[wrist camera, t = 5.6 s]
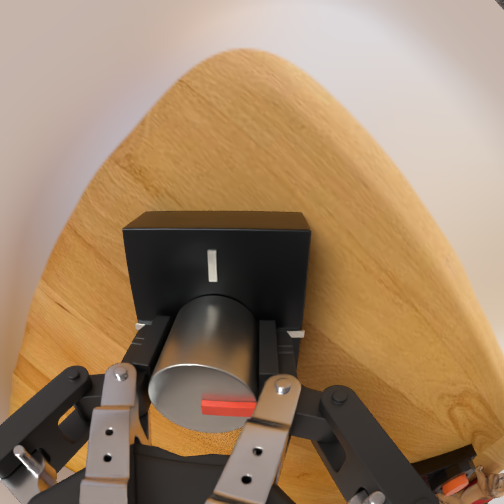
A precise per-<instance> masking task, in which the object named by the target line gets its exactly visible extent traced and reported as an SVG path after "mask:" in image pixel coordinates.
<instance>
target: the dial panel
mask: <svg viewBox="0 0 504 504" xmlns="http://www.w3.org/2000/svg"><path fill="white" fill-rule="evenodd" d="M122 231H123V239H124V246H125V253H126V260H127V266H128V272H129V278H130V283H131V289H132V294H133V299H134V304H135V309H136V314H137V319H138V322H136V323H135V327H136V330H139V329H141V328H142V327H143V326H145V325H146V324H147V325H151V324H152V322H153V320H154V318H155V316H156V315H162V316H172V318H173V322H174V321H175V319H176V317H177V314H178V312H179V311H180V309H181V308H182V307H183V306H184V305H185V304H187V303H188V302H190V301H191V300H193V299H196V298H199V297H202V296H222V297H227V298H230V299H233V300H235V301H237V302H239V303H240V304H242V305H243V306H245V307H246V308H247V309H248V310H249V311H250V312H251V313H252V314H253V316H254V317H255V319H256V321H257V323H258V327H259V323H260V320H275V323H276V331H287V332H288V334H289V335H290V336H291V337H292V342H293V349H294V357H295V364H296V371H297V364H298V356H299V349H300V341H301V337H304V333H305V331H304V330H302V324H303V316H304V307H305V297H306V288H307V277H308V267H309V255H310V243H311V230H310V228H309V226H308V224H307V222H306V220H305V218H304V216H303V214H302V213H301V212H263V211H151V212H145V213H143V214H142V215H141V216H139V217H138V218H136V219H135V220H134V221H132V222H131V223H129V224H128V225H127V226H125V227H124V228H123V230H122Z"/></svg>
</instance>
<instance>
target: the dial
mask: <svg viewBox="0 0 504 504" xmlns="http://www.w3.org/2000/svg"><path fill="white" fill-rule="evenodd" d="M258 380H259V327H258V323H257V321H256V319H255V317H254V316H253V314H252V313H251V312H250V311H249V310H248V309H247V308H246V307H245V306H243V305H242V304H240V303H239V302H237V301H235V300H233V299H230V298H227V297H222V296H202V297H199V298H196V299H193V300H191V301H190V302H188V303H187V304H185V305H184V306H183V307H182V308H181V309H180V311H179V312H178V314H177V317H176V319H175V321H174V324H173V326H172V328H171V331H170V333H169V335H168V338H167V340H166V342H165V345H164V347H163V350H162V352H161V354H160V357H159V359H158V362H157V364H156V367H155V369H154V371H153V374H152V376H151V379H150V381H149V384H148V394H149V398H150V400H151V402H152V404H153V405H154V407H155V408H156V409H157V411H159V412H160V413H161V414H162V415H163V416H164V417H165V418H167V419H168V420H170V421H171V422H173V423H175V424H177V425H179V426H181V427H184V428H187V429H190V430H194V431H198V432H205V433H223V432H229V431H233V430H236V429H239V428H241V427H243V426H244V424H245V422H246V420H247V419H248V418H251V417H252V414H253V412H254V409H255V407H256V404H257V402H258Z"/></svg>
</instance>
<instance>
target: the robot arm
mask: <svg viewBox="0 0 504 504" xmlns="http://www.w3.org/2000/svg"><path fill="white" fill-rule="evenodd" d="M173 324H174V322H173V318H172V316H162V315H156V316H155V318H154V320H153V322H152V324H151V325H147V324H146V325H145V326H143V327H142V328H141V329H139V330H138V332H137V334H136V336H135V339H133V341H132V344H131V345H130V347H129V348H128V350H127V352H126V354H125V356H124V358H123V360H122V362H121V363H117V364H114V365H112V366H111V367H109V368H108V369H107V371H106V373H105V374H97V375H89V373H88V371H87V369H86V368H84V367H82V366H71V367H68V368H67V369H65V370H64V371H63V372H61V373H60V374H59V375H58V376H57V377H55V378H54V379H53V380H52V381H51V382H50V383H48V384H47V385H46V386H45V387H44V388H42V389H41V390H40V391H39V392H38V393H37V394H35V395H34V396H33V397H32V398H31V399H30V400H29V401H27V402H26V403H25V404H24V405H23V406H22V407H20V408H19V409H18V410H17V411H16V412H15V413H14V414H12V415H11V416H10V417H9V418H8V419H7V420H6V421H5V422H3V423H2V424H1V425H0V482H1V483H2V484H3V485H5V486H6V487H7V488H8V489H9V491H10V492H11V493H12V494H13V495H14V496H15V497H16V499H17V500H18V501H19V502H20V503H21V504H296V503H295V502H294V501H293V500H292V499H291V498H290V497H289V496H288V495H287V494H286V493H285V492H284V491H283V490H282V489H281V488H280V487H279V486H278V485H277V484H278V481H279V477H280V474H281V470H282V467H283V463H284V460H285V456H286V453H287V450H288V446H289V443H290V439H291V436H296V437H301V438H305V439H310V440H311V442H312V443H313V445H314V447H315V449H316V451H317V452H318V454H319V456H320V457H321V459H322V461H323V463H324V464H325V466H326V468H327V470H328V471H329V473H330V475H331V476H332V478H333V480H334V481H335V483H336V485H337V487H338V488H339V490H340V492H341V493H342V495H343V497H344V498H345V500H346V501H347V504H440V503H439V500H438V498H437V497H436V496H435V494H434V493H433V492H432V490H431V489H430V488H429V487H428V485H427V484H426V483H425V482H424V480H423V479H422V478H421V476H420V475H419V474H418V473H417V471H416V470H415V469H414V468H413V466H412V465H411V464H410V463H409V461H408V460H407V459H406V457H405V456H404V455H403V454H402V452H401V451H400V450H399V449H398V447H397V446H396V445H395V443H394V442H393V441H392V440H391V438H390V437H389V436H388V434H387V433H386V432H385V431H384V429H383V428H382V427H381V426H380V424H379V423H378V422H377V420H376V419H375V418H374V417H373V415H372V414H371V413H370V411H369V410H368V409H367V408H366V406H365V405H364V404H363V402H362V401H361V400H360V399H359V397H358V396H357V395H356V393H355V392H354V391H353V390H352V389H350V388H348V387H346V386H342V385H334V386H330V387H328V388H326V389H325V390H324V391H323V392H321V391H316V390H311V389H309V388H307V387H305V386H303V385H302V384H301V383H300V382H299V380H298V378H297V372H296V364H295V357H294V349H293V342H292V337H291V336H290V335H289V334H288V332H287V331H276V323H275V320H260V323H259V380H258V402H257V404H256V407H255V409H254V412H253V414H252V417H251V418H248V419H247V420H246V422H245V424H244V426H243V428H242V430H241V433H240V435H239V437H238V439H237V442H236V444H235V446H234V448H233V451H232V453H231V455H219V454H208V455H198V456H187V457H183V456H179V455H177V454H174V453H171V452H169V451H166V450H164V449H161V448H159V447H155V446H152V443H151V413H150V409H149V407H150V404H151V400H150V398H149V394H148V384H149V381H150V379H151V376H152V374H153V371H154V369H155V367H156V364H157V362H158V359H159V357H160V354H161V352H162V350H163V347H164V345H165V342H166V340H167V338H168V335H169V333H170V331H171V328H172V326H173ZM72 406H74V408H75V410H74V411H73V412H72V413H71V414H70V415H69V416H68V417H67V418H66V419H65V420H64V421H63V422H62V423H60V424H59V425H58V421H59V419H60V418H61V416H63V415H64V414H65V413H66V412H67V411H68V410H69V409H70V408H71V407H72ZM88 440H89V442H88V451H87V461H86V467H85V468H83V469H82V470H80V471H78V472H77V473H75V474H73V475H71V476H70V477H68V478H66V479H64V480H62V481H61V482H59V483H57V481H56V479H57V473H58V472H59V471H60V470H61V469H62V467H63V466H64V465H65V464H66V463H67V462H68V461H69V460H70V459H71V458H72V457H73V456H74V455H75V454H76V453H77V452H78V450H79V449H80V448H81V447H82V446H83V445H84V444H85V443H86V442H87V441H88Z"/></svg>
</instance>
